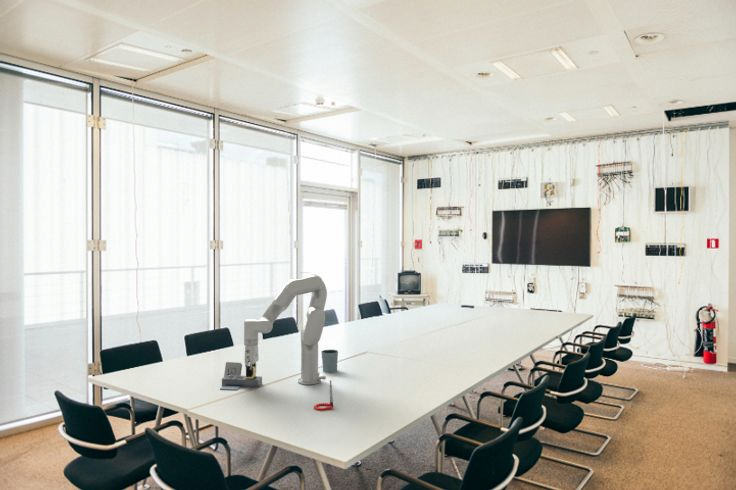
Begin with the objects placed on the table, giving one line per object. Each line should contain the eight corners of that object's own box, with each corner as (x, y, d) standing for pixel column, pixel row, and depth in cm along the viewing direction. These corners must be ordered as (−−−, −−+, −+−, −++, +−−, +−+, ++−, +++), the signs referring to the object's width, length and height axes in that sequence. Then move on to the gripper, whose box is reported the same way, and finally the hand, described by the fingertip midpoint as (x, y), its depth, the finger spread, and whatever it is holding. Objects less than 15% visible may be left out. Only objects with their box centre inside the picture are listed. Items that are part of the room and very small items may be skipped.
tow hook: (313, 412, 228) (333, 410, 229) (312, 384, 228) (332, 382, 228) (313, 406, 236) (333, 404, 237) (312, 379, 236) (332, 378, 237)
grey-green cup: (335, 373, 292) (335, 353, 292) (319, 372, 294) (319, 352, 294) (339, 369, 302) (339, 349, 302) (324, 368, 304) (324, 348, 304)
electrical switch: (223, 379, 280) (224, 362, 280) (227, 377, 285) (228, 361, 285) (238, 380, 278) (239, 363, 279) (242, 378, 283) (243, 362, 284)
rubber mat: (240, 387, 263) (240, 386, 263) (236, 390, 258) (236, 389, 258) (223, 386, 264) (223, 385, 264) (220, 389, 259) (220, 388, 259)
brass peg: (255, 384, 269) (255, 366, 269) (253, 386, 265) (253, 368, 265) (248, 384, 270) (248, 366, 270) (246, 386, 266) (246, 367, 266)
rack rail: (262, 383, 270) (262, 376, 270) (257, 387, 263) (257, 380, 263) (226, 382, 272) (226, 375, 272) (221, 386, 266) (221, 378, 265)
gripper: (252, 345, 258) (252, 379, 258) (262, 339, 275) (262, 371, 276) (238, 345, 259) (238, 379, 259) (249, 338, 276) (249, 370, 276)
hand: (251, 374), depth 267 cm, fingers open, 6 cm apart
